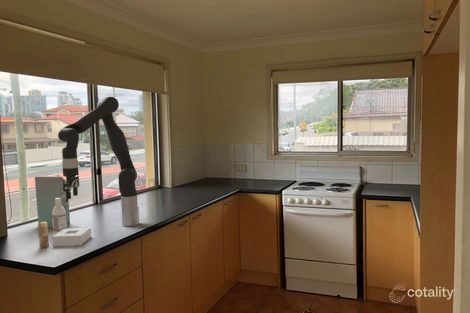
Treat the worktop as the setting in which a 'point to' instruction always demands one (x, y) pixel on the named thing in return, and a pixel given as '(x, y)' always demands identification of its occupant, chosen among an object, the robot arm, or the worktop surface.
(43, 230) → the peg
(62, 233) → the socket block
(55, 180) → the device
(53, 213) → the bath foam
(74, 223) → the worktop surface
